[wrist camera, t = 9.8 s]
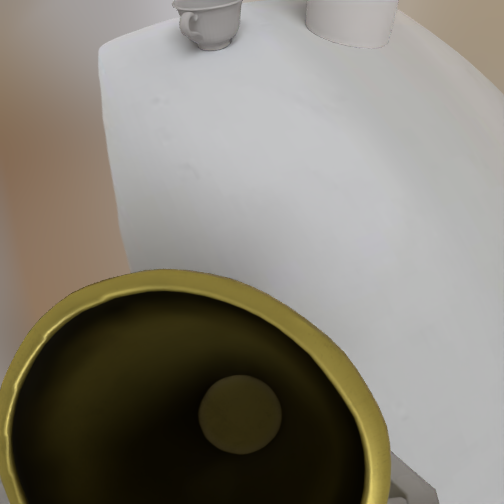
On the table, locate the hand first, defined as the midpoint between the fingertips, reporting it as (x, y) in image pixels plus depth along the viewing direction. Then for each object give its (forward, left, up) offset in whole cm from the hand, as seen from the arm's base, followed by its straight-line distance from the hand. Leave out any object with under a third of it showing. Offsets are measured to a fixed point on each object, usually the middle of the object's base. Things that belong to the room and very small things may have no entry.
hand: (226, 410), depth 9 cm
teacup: (+17, +50, -18) cm, 56 cm away
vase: (0, -1, -8) cm, 8 cm away
